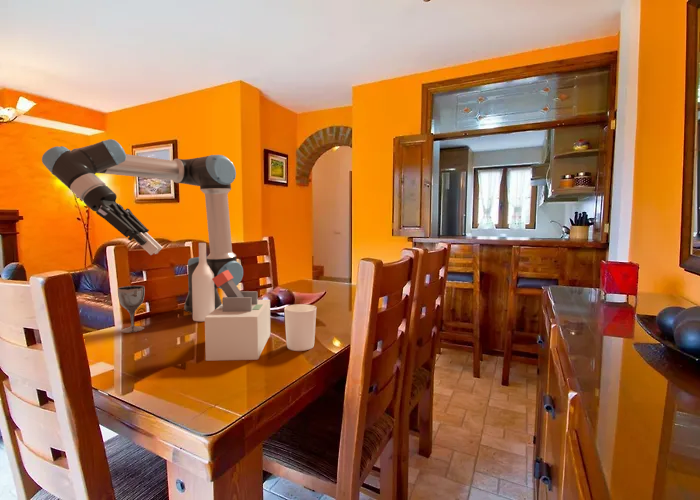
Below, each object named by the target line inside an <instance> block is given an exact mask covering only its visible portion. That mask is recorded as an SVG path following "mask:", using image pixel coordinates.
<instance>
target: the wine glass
mask: <svg viewBox="0 0 700 500" xmlns="http://www.w3.org/2000/svg"><path fill="white" fill-rule="evenodd" d="M145 291H146V290H145V285H140V284H139V285H137V284H136V285H135V284H134V285H126V286H120V287H117V298H118V302H119V304H120V305H121V307H122V308H124V309H125V310H126V311H127V312H128V313H129V317H130V322H131V324H130V326H128V327H125V328H123V329H121V330H120V332H121V333H123V334H124V333H136V332H139V331H140V332H141V331H143V330H144V329H145V326H142V325H141V326H140V325H139V326H138V325H137V326H136V325H135V321H134V320H135V313H136V311H137V310H138V308H140V306H142V304H143V303H144V299H145V293H146V292H145Z"/></svg>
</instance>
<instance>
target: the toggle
mask: <svg viewBox="0 0 700 500" xmlns="http://www.w3.org/2000/svg"><path fill="white" fill-rule="evenodd" d="M232 278H233V276H232V275H231V273H230V272H229V270H226V271H224V272H222V273H220V274H219V275H217V276H216V277H214V278H213V279H212V280H213V281H214V283H215V284H216V286H217V287H219V286H220V287H221V289H220V290H222V291H223V293H224V294H225V296H226V297H244V296H243V295H242V293H241V292H240V291H241V290H240V289H239V288H238V285H237V286H236V285H235V283H234V282H233V280H232Z"/></svg>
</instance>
